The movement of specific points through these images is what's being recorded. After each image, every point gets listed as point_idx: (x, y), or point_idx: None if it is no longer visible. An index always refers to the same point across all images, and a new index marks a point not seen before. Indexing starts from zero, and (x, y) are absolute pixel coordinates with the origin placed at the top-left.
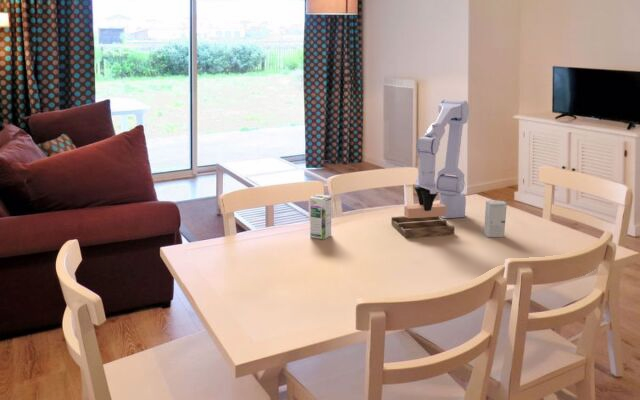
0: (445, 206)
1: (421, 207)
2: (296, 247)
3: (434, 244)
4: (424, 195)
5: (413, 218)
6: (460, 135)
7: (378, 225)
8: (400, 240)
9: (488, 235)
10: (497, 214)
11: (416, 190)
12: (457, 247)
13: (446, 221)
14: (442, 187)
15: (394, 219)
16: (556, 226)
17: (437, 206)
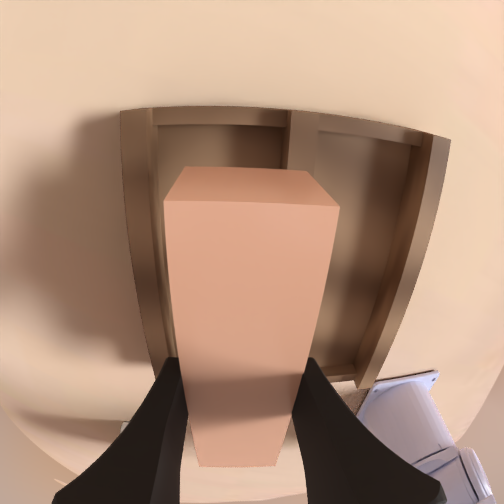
0: (200, 464)
1: (198, 360)
2: None
3: (33, 236)
4: (61, 494)
5: (395, 271)
6: None
7: (433, 58)
8: (110, 68)
9: (121, 427)
10: None
11: (381, 497)
12: (14, 307)
13: None
14: (442, 478)
15: (425, 147)
16: (201, 500)
17: (208, 444)
